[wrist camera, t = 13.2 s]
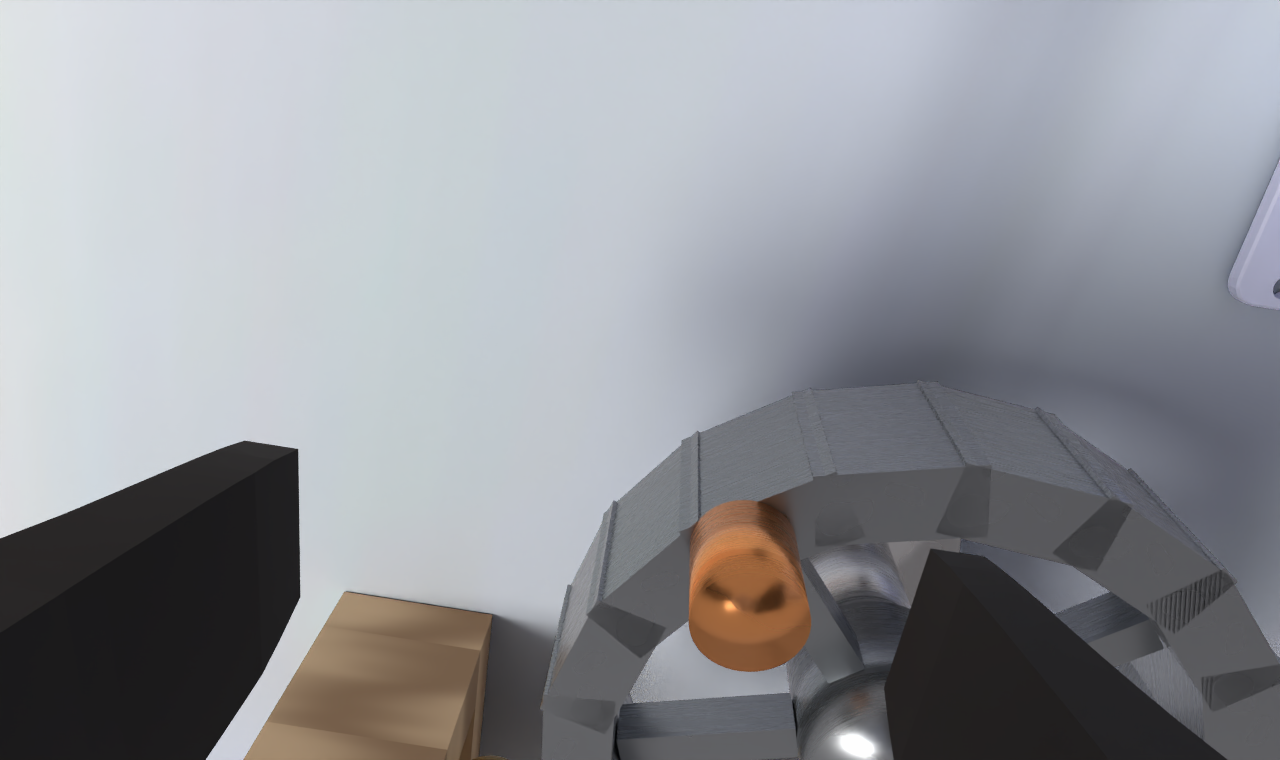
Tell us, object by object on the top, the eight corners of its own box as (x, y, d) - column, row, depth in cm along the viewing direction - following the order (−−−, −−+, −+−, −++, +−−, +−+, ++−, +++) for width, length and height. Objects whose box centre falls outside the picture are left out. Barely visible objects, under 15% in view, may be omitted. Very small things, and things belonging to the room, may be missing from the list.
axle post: (989, 451, 20) (1061, 560, 16) (919, 651, 23) (967, 788, 19) (737, 412, 20) (747, 511, 16) (694, 615, 23) (694, 746, 19)
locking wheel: (1070, 866, 19) (1179, 1119, 15) (526, 741, 19) (476, 964, 15) (1323, 479, 15) (1574, 668, 11) (640, 306, 15) (616, 431, 10)
